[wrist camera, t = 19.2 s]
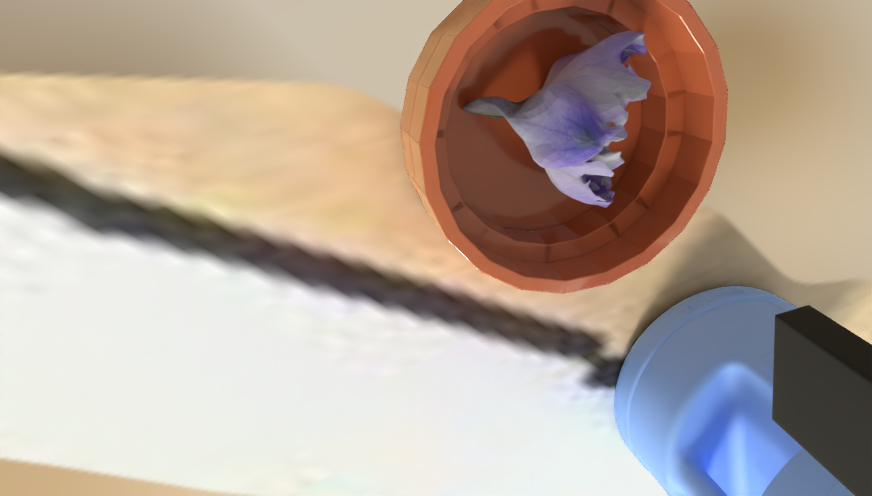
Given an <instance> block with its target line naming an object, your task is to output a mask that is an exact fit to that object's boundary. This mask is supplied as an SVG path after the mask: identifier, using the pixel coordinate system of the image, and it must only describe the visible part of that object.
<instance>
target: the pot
mask: <svg viewBox="0 0 872 496" xmlns="http://www.w3.org/2000/svg"><path fill="white" fill-rule="evenodd" d="M625 31H637V32H644V33H645V35H644V36H643V38H644V41H645V44H646V47H647V51H646V53H645V54H634V55H631V56H630V57H629V58H628V60H627V61H626V62H625V63H623V65H624V66H625V67H627V65H628V64H630V66H631V67H632V69H633V70H634V72H635V73H636V74H637V75H638V77H641V78H643V79H646V80H649V81H650V82H651V85H650V88H649V89H648V91H647V99H644V100H639V101H632V102H631V101H629V103H628V104H627V106H626V108H625V111H627V112H628V119H627V121H626V123H625V124H624V128H625V130H626V131H627V134H628V135H627V137H626V138H625V139H623V140H621V141H618V142H616V141H612V142H610V143H609V151H612V152H615V151H620V152H621V154H620V157H621V158H622V159H623V160H624V161H625V162H624V163H623V164H621V165H620V166H618V167H617V168H615V169H613V170H611V171H612V172H613V173H615V174H614V175H613V176H612V177H611V183H612V186H611V187H610V188H609V189H608V190H610V191H614V192H615V194H614V196H613V198H612V199H613V202H612V203H611V204H609V206H608V207H606V208H604V207H601V206H599V205H593V204H586V203H583V202H581V201H578V200H576V199H573V198H571V197H569V196H567V195H566V194H564V193H562V192H561V191H560V190H558V188H557V187H556V186H555V185H554V184H553V183H552V182H551V180H550V178H549V176H548V174H547V173H546V170H545V168H543V167H541V166H539V165H538V164H537V163H536V162H535V161H534V160H533V158H532V156H531V154H530V152H529V149H528V148H527V146H526V144H525V142H524V140H523V139H522V138H521V137H520V136H519V135H518V134H517V133H516V132H515V130H514V129H513V128H512V126H511V125H510V124H509V122H508V121H507V120H506V118H504V119H494V118H491V117H488V116H485V115H482V114H478V113H471V112H467V111H465V110H464V108H463V105H464V103H469V102H471V101H473V100H474V99H476V98H477V97H497V96H498V97H501V98H504V99H506V100H508V101H512V102H520V101H523V100H525V99H527V98H528V97H529V96H531V95H533V94H535V93H537V92H538V91H539V90H541V89H542V88H543V86H544V84H545V81H546V79H547V76H548V74H549V71H550V69H551V67H552V66H553V64H554V63H555V62H556V61H557V60H559V59H560V58H562V57H564V56H566V55H569V54H576V53H578V52H580V51H582V50H584V49H587V48H589V47H591V46H594V45H596V44H598V43H599V42H601V41H603V40H604V39H606V38H608V37H609V36H611V35H613V34H617V33H621V32H625ZM715 44H716V43H715V42H714V40H713V38H712V37H711V35H710V34H709V32H708V31H707V29H706V28H705V26H704V25H703V23H702V21H701V20H700V18H699V17H698V15H697V14H696V12H695V10H694V9H693V7H692V6H691V5H690V3H689V2H688V1H687V0H463V1H462V2H461V3H460V4H459V5H458V6H457V7H456V8H455V9H454V10H453V11H452V12H451V13H450V14H449V15H448V16H447V17H446V18H445V20H444V21H442V22H441V23H440V24H439V26H438V27H437V28H436V29H435V30H434V31H433V32H432V33H431V34H430V36H429V38H428V40H427V42H426V44H425V46H424V48H423V50H422V52H421V54H420V56H419V58H418V60H417V62H416V64H415V66H414V68H413V70H412V72H411V74H410V76H409V79H408V83H407V89H406V95H405V102H404V107H403V113H402V118H401V124H400V125H401V127H400V128H401V135H402V142H403V149H404V156H405V163H406V170H407V173H408V175H409V177H410V179H411V181H412V183H413V185H414V187H415V189H416V191H417V193H418V195H419V197H420V199H421V201H422V203H423V205H424V207H425V209H426V211H427V212H428V214H429V215H430V216H431V218H432V219H433V221H434V222H435V223H436V225H437V226H438V228H439V229H440V230H441V232H442V233H443V234H444V236H445V237H446V239H447V240H448V241H449V242H450V243H451V244H452V245H453V246H454V247H455V248H456V249H457V250H458V251H459V252H460V253H461V254H462V255H463V256H464V257H465V258H466V259H467V260H468V261H470V262H471V263H472V264H473V265H474V266H475V267H476V268H477V269H478V270H479V271H481V272H482V273H485V274H487V275H489V276H491V277H493V278H496V279H498V280H500V281H502V282H505V283H507V284H509V285H511V286H513V287H516V288H518V289H521V290H530V291H541V292H551V293H562V294H563V293H569V292H573V291H578V290H583V289H587V288H592V287H597V286H601V285H606V284H609V283H611V282H613V281H615V280H617V279H619V278H620V277H622V276H624V275H626V274H628V273H630V272H632V271H633V270H635V269H637V268H639V267H641V266H643V265H645V264H647V263H648V262H650V261H651V260H652V259H653V258H654V257H655V256H656V255H657V254H658V253H659V252H660V251H661V250H662V249H663V248H665V247H666V246H667V245H668V244H669V243H670V242H671V241H672V240H673V239H674V238H675V237H676V236H677V235H678V234H680V233H681V232H682V231H683V229H684V228H685V227H686V225H687V224H688V222H689V220H690V219H691V217H692V216H693V214H694V213H695V211H696V210H697V208H698V206H699V205H700V203H701V202H702V200H703V199H704V197H705V195H706V194H707V192H708V191H709V188H710V186H711V184H712V180H713V177H714V175H715V171H716V168H717V165H718V162H719V159H720V156H721V153H722V150H723V147H724V144H725V142H724V141H725V137H726V119H727V101H728V93H727V92H728V89H727V85H726V81H725V77H724V73H723V69H722V65H721V60H720V56H719V52H718V48H717V45H715ZM609 126H610V127H613V126H614V122H611V123H610V124H609Z"/></svg>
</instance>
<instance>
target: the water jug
mask: <svg viewBox="0 0 872 496" xmlns="http://www.w3.org/2000/svg"><path fill="white" fill-rule="evenodd" d="M794 309H797V308H796V307H795V306H793V305H792V304H790V303H788V302H787V301H785V300H783V299H781V298H780V297H778V296H776V295H774V294H772V293H770V292H767V291H765V290H762V289H758V288H753V287H746V286H727V287H719V288H714V289H710V290H707V291H703V292H700V293H698V294H695V295H693V296H691V297H688V298H686V299H684V300H683V301H681V302H679V303H677V304H676V305H674V306H673V307H671V308H670V309H668V310H667V311H665V312H664V313H663V314H662V315H660V316H659V317H658V318H657V319H656V320H655V321H654V322H653V323H652V324H651V325H650V326H649V327H648V328H647V329H646V330H645V331H644V332H643V333H642V334H641V336H640V337H639V338H638V340H637V341H636V342H635V344H634V345H633V347H632V348H631V350H630V352H629V353H628V355H627V357H626V359H625V361H624V363H623V366H622V368H621V371H620V374H619V377H618V381H617V385H616V390H615V401H614V407H615V417H616V422H617V426H618V429H619V432H620V434H621V437H622V439H623V440H624V442H625V444H626V445H627V447H628V448H629V450H630V451H631V452H632V453H633V455H634V456H635V457H636V458H637V460H638V461H639V462H640V463H641V464H642V465H643V466H644V467H645V468H646V469H647V470H648V471H649V472H650V473H651V474H652V475H653V476H654V478H655V479H656V480H657V481H658V483H659V484H660V485H661V486H662V488H663V489H664V490H665V491H666V493H667V494H668V495H669V496H855V495H854V494H852V493H851V492H850V491H849V490H848V489H847V488H846V487H845V486H844V485H843V484H842V483H841V482H839V481H838V480H837V479H836V478H835V477H834V476H833V475H832V474H831V473H830V472H829V471H828V470H826V469H825V468H824V467H823V466H822V465H821V464H820V463H819V462H818V461H817V460H816V459H815V458H814V457H812V456H811V455H810V454H809V453H808V452H807V451H806V450H805V449H804V448H803V447H802V446H801V445H799V444H798V443H797V442H796V441H795V440H794V439H793V438H792V437H791V436H790V435H789V434H788V433H786V432H785V431H784V430H783V429H782V428H781V427H780V426H779V425H778V424H777V423H776V422H775V421H774V420H772V403H773V368H774V333H775V315H776V314H780V313H783V312H787V311H790V310H794Z"/></svg>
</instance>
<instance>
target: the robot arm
mask: <svg viewBox="0 0 872 496" xmlns="http://www.w3.org/2000/svg"><path fill="white" fill-rule="evenodd" d="M772 420H774V421H775V422H776V423H777V424H778V425H779V426H780V427H781V428H782V429H783V430H784V431H785V432H786V433H788V434H789V435H790V436H791V437H792V438H793V439H794V440H795V441H796V442H797V443H798V444H799V445H801V446H802V447H803V448H804V449H805V450H806V451H807V452H808V453H809V454H810V455H811V456H812V457H814V458H815V459H816V460H817V461H818V462H819V463H820V464H821V465H822V466H823V467H824V468H825V469H826V470H828V471H829V472H830V473H831V474H832V475H833V476H834V477H835V478H836V479H837V480H838V481H839V482H841V483H842V484H843V485H844V486H845V487H846V488H847V489H848V490H849V491H850V492H851V493H852V494H854V495H855V496H872V345H871V344H870V343H868V342H866V341H865V340H863V339H862V338H860V337H858V336H857V335H855V334H854V333H852V332H851V331H849V330H847V329H846V328H844V327H843V326H841V325H839V324H838V323H836V322H835V321H833V320H831V319H830V318H828V317H827V316H825V315H824V314H822V313H820V312H819V311H817V310H816V309H814V308H812V307H811V306H809V305H808V306H804V307H801V308H797V309H794V310H790V311H787V312H783V313H780V314H776V315H775V333H774V368H773V403H772Z"/></svg>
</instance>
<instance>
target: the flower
mask: <svg viewBox="0 0 872 496" xmlns="http://www.w3.org/2000/svg"><path fill="white" fill-rule="evenodd" d="M644 35H645V33H644V32H637V31H625V32H621V33H617V34H613V35H611V36H609V37H608V38H606V39H604V40H603V41H601V42H599V43H598V44H596V45H594V46H591V47H589V48H587V49H584V50H582V51H580V52H578V53H576V54H569V55H566V56H564V57H562V58H560V59H559V60H557V61H556V62H555V63H554V64H553V66H552V67H551V69H550V71H549V74H548V76H547V79H546V81H545V84H544V86H543V88H542V89H541V90H539V91H538V92H537V93H535V94H533V95H531V96H529V97H528V98H527V99H525V100H523V101H520V102H512V101H508V100H506V99H504V98H501V97H498V96H497V97H477V98H476V99H474V100H473V101H471V102H469V103H464V105H463V108H464V110H465V111H467V112H471V113H478V114H482V115H485V116H488V117H491V118H494V119H504V118H506V120H507V121H508V122H509V124H510V125H511V126H512V128H513V129H514V130H515V132H516V133H517V134H518V135H519V136H520V137H521V138H522V139H523V140H524V142H525V144H526V146H527V148H528V149H529V152H530V154H531V156H532V158H533V160H534V161H535V162H536V163H537V164H538V165H539V166H541V167H543V168H545V170H546V173H547V174H548V176H549V178H550V180H551V182H552V183H553V184H554V185H555V186H556V187H557V188H558V190H560V191H561V192H562V193H564V194H566V195H567V196H569V197H571V198H573V199H576V200H578V201H581V202H583V203H586V204H593V205H599V206H601V207H604V208H606V207H608V206H609V204H611V203H612V202H613V199H612V198H613V196H614V194H615V192H614V191H610V190H608V189H609V188H610V187H611V186H612V183H611V177H612V176H613V175H614V174H615V173H613V172H612V171H611V170H613V169H615V168H617V167H618V166H620V165H621V164H623V163H624V162H625V161H624V160H623V159H622V158H621V157H620V154H621V152H620V151H615V152H612V151H609V143H610V142H612V141H616V142H618V141H621V140H623V139H625V138H626V137H627V135H628V134H627V131H626V130H625V128H624V124H625V123H626V121H627V119H628V112H627V111H625V108H626V106H627V104H628V103H629V101H631V102H632V101H639V100H644V99H647V91H648V89H649V88H650V85H651V82H650V81H649V80H646V79H643V78H641V77H638V75H637V74H636V73H635V72H634V70H633V69H632V67H631V66H630V64H628V65H627V67H625V66H624V65H623V63H625V62H626V61H627V60H628V58H629V57H630V56H631V55H634V54H645V53H646V51H647V47H646V44H645V41H644V38H643V36H644ZM611 122H614V126H613V127H610V126H609V124H610V123H611Z"/></svg>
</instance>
